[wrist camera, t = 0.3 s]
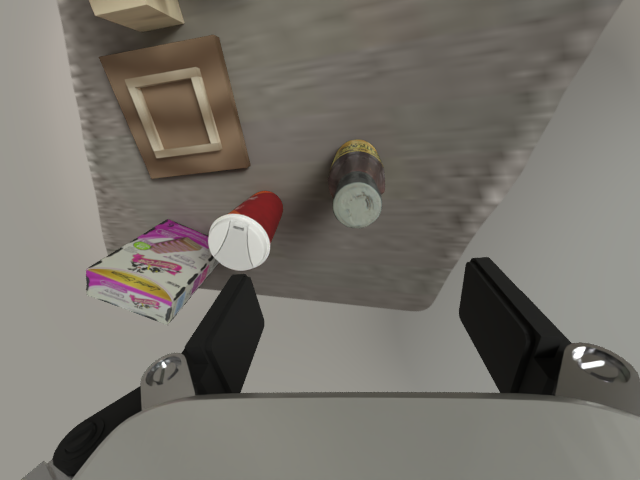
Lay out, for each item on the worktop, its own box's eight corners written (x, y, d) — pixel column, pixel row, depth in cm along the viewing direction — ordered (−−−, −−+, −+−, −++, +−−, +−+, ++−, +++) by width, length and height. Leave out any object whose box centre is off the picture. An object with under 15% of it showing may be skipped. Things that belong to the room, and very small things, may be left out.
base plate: (108, 58, 34) (92, 55, 32) (219, 37, 32) (209, 32, 30) (157, 176, 42) (147, 180, 40) (250, 165, 40) (245, 168, 37)
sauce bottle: (381, 142, 37) (416, 176, 19) (370, 184, 39) (392, 247, 22) (336, 133, 36) (330, 160, 19) (329, 176, 39) (317, 233, 22)
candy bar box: (226, 241, 47) (174, 302, 32) (220, 261, 49) (168, 327, 34) (166, 216, 45) (83, 268, 31) (163, 238, 47) (83, 297, 33)
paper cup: (247, 178, 41) (205, 210, 28) (293, 191, 41) (272, 229, 29) (241, 221, 44) (202, 266, 32) (284, 233, 45) (261, 282, 32)
